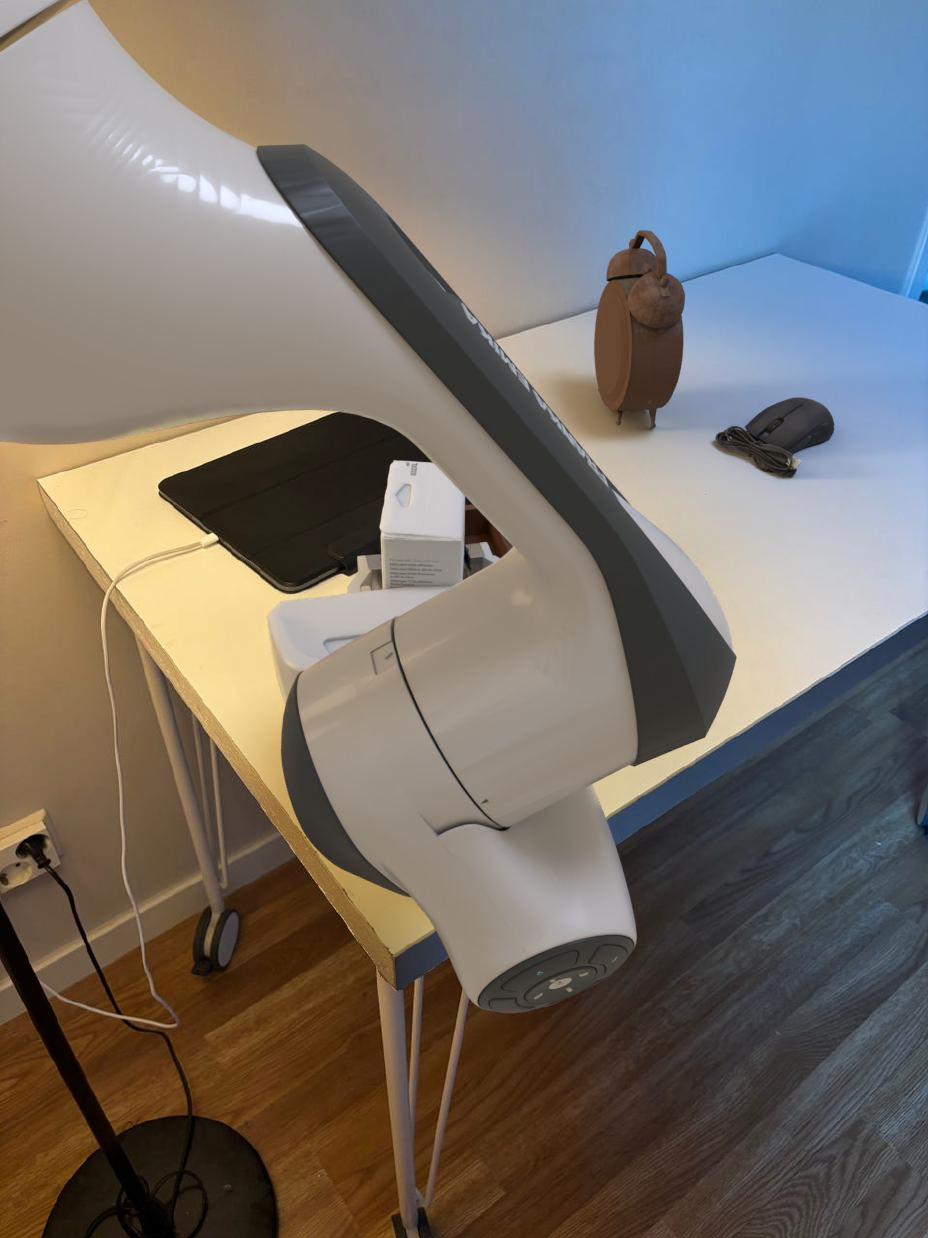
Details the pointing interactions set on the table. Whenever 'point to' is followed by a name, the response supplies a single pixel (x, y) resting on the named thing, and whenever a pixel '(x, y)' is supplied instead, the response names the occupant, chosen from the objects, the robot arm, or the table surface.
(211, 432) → the table surface
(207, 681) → the table surface
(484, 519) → the wooden tray
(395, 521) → the ink box
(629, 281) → the alarm clock
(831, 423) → the computer mouse
